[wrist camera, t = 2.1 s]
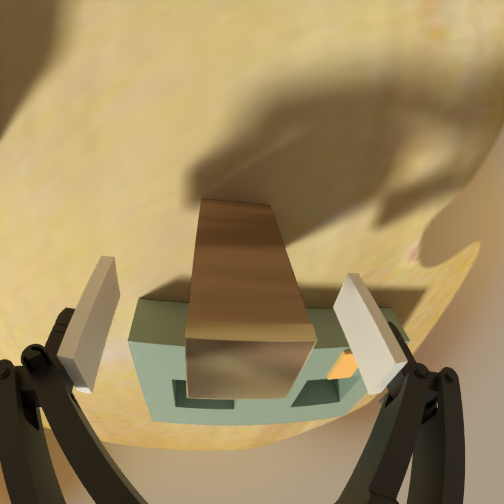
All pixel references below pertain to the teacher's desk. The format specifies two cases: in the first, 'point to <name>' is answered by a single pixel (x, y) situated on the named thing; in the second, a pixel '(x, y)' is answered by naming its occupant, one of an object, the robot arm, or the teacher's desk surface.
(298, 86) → the teacher's desk surface
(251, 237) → the plug
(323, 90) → the teacher's desk surface
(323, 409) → the socket board
